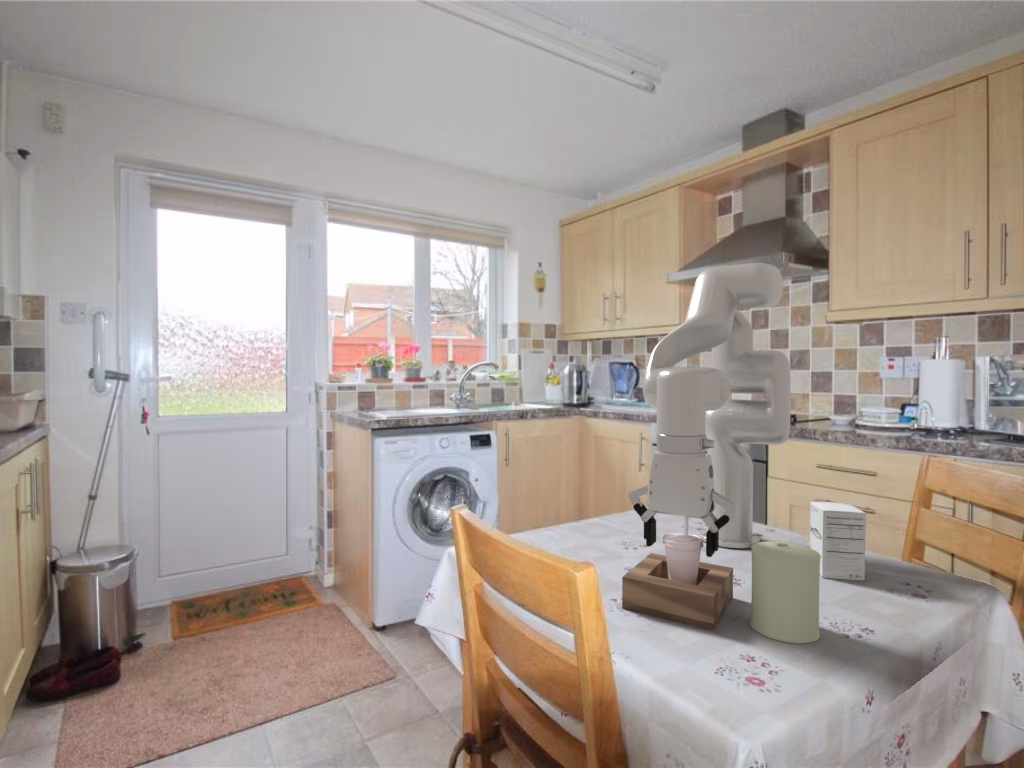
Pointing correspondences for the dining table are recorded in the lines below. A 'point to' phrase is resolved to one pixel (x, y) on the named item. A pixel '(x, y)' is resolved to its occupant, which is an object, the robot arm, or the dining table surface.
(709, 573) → the socket block
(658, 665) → the dining table surface
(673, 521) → the dining table surface
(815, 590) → the can
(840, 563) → the supplement box
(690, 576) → the smoothie
